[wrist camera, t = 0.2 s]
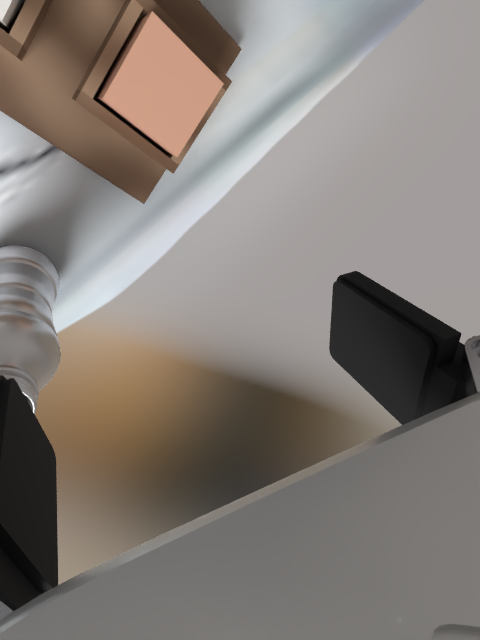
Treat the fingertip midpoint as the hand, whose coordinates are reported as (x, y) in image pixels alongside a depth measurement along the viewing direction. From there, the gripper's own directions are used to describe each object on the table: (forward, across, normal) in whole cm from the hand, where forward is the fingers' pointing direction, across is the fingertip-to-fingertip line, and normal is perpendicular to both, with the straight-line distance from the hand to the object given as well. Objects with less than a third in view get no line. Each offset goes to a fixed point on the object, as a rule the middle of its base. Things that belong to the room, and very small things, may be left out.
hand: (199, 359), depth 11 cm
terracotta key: (+26, -5, -6) cm, 27 cm away
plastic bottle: (+31, +9, +8) cm, 33 cm away
